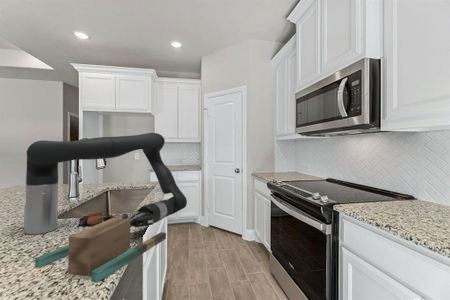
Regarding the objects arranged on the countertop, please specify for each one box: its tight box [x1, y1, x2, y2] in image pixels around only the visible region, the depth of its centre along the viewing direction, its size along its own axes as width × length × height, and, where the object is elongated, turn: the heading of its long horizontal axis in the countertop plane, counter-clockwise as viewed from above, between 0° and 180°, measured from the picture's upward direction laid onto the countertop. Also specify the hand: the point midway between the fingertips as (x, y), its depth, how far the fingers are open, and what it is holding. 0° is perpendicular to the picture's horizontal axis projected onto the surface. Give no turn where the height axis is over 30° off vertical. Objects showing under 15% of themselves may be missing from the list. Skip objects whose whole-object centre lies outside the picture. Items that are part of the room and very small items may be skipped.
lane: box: [34, 231, 167, 283], centre depth 66 cm, size 21×27×2 cm
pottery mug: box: [77, 212, 115, 229], centre depth 81 cm, size 12×10×8 cm
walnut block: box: [67, 217, 131, 277], centre depth 61 cm, size 6×16×9 cm, turn 170°
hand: (118, 226), depth 69 cm, fingers closed
